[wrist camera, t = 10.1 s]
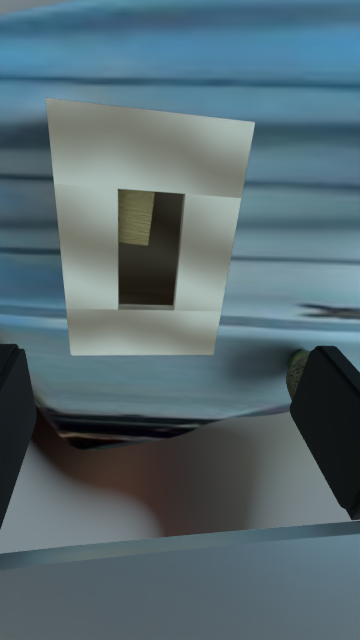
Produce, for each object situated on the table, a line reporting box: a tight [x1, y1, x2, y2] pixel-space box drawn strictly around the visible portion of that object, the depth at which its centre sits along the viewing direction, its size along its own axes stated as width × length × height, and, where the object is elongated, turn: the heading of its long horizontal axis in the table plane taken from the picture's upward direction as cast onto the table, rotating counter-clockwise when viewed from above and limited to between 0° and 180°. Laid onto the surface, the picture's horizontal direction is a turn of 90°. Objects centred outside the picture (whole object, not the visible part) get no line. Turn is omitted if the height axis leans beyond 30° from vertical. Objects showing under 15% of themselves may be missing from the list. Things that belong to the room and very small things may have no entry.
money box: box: [46, 98, 255, 355], centre depth 25 cm, size 16×11×10 cm
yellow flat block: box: [118, 189, 155, 246], centre depth 27 cm, size 5×2×6 cm
